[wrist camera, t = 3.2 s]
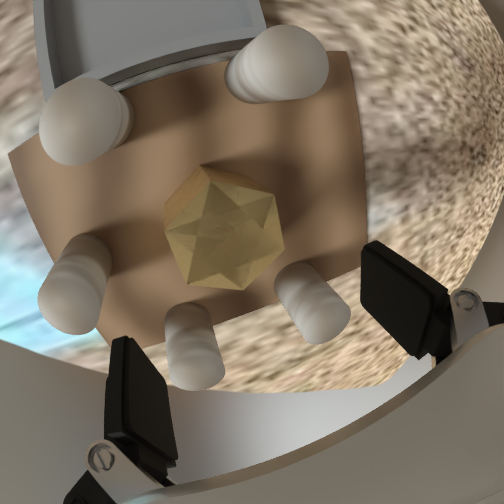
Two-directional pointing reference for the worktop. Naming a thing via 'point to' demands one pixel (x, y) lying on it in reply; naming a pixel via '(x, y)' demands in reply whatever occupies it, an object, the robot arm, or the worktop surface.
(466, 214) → the worktop surface
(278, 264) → the board
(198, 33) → the tray
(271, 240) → the faceted yellow gem
